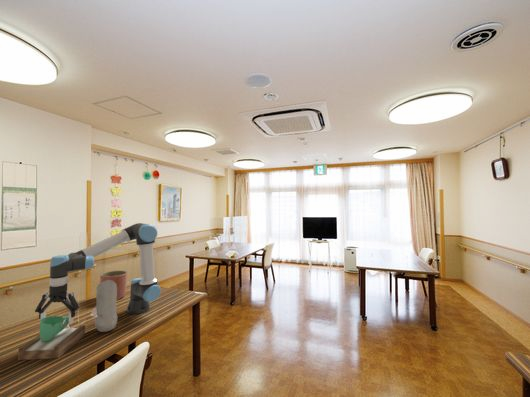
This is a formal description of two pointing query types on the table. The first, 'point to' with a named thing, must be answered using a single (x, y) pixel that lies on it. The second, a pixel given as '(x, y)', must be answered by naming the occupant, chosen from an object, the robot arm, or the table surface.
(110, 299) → the sculpture
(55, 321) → the mug
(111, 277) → the planter
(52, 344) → the brown rectangular tray
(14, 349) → the table surface
